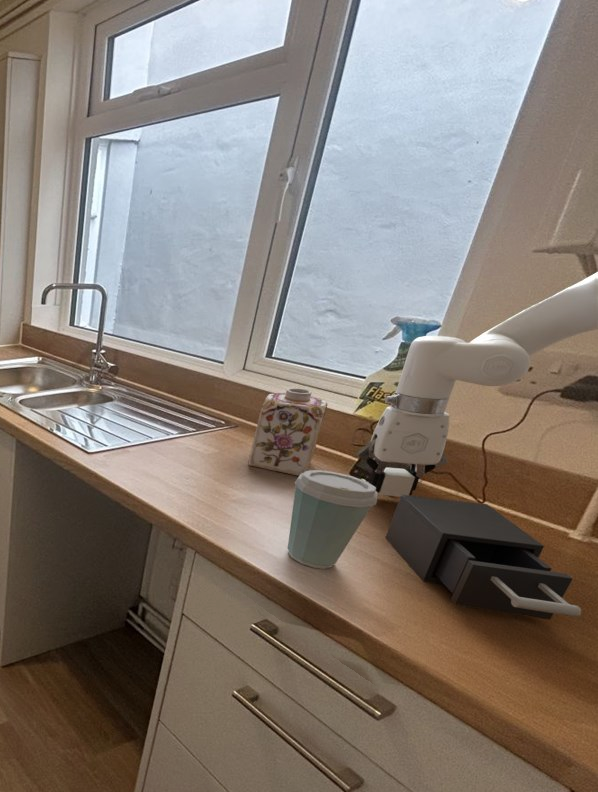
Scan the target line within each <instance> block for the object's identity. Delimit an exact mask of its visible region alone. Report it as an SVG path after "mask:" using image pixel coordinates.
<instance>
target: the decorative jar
mask: <svg viewBox="0 0 598 792" xmlns="http://www.w3.org/2000/svg"><path fill="white" fill-rule="evenodd" d="M328 405H329V404H328V402H327V401H325V400H323V399H321V398H318V397H315V396H312V391H311V390H309V389H306V388H300V387H290V388H287V389H286V391H285V392H276V393H269V394H268V395H267V396H266V397H265V398H264V401H263V404H262V405H261V408H260V411H259V416H258V420H257V424H256V427H255V433H254V436H253V441H252V445H251V449H250V454H249V459H248V462H247V465H248V466H250V467H256V468H260V469H264V470H270V471H274V472H279V473H284V474H287V475H288V474H289V475H294V476H298V477H299V475H300V474H301V473H304V472H305V471H309V468H310V466H311V462H312V459H313V457H314V454H315V450H316V447H317V443H318V440H319V437H320V434H321V433H320V432H321V430H322V426H323V421H324V419H325V415H326V412H328V411H327V409H328Z"/></svg>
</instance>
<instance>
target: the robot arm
mask: <svg viewBox="0 0 598 792" xmlns="http://www.w3.org/2000/svg"><path fill="white" fill-rule="evenodd" d="M595 330H598V271H596V272H594V273H593V274H592V275H589V276H588V277H586V278H584V279H583V280H581V281H579V282H577V283H575V284H573V285H570V286H569V287H566V288H564V289H562V290H560V291H558V292H557V293H555V294H553V295H551V296H549V297H547V298H545V299H544V300H542V301H539V302H536V303H535V304H534V305H531V306H529V307H527V308H525V309H523V310H521V311H520V312H518V313H516V314H515V315H512V316H511V317H509V318H507V319H505V320H504V321H502V322H500V323H499V324H497V325H495V326H493V327H492V328H490V329H488V330H487V331H485V332H483V333H482V334H480V335H478V336H476V337H475V338H474V339H472V340H470V342H466V341H465V340H463V339H462V338H458V337H452V336H444V335H423V336H418V337H416V338H415V339H414V340H412V342H411V343H410V345H409V348H408V352H407V355H406V357H405V360H404V364H403V368H402V371H401V374H400V377H399V380H398V384H397V387H396V390H395V391H393V395H386V396H385V397H384V403H385V404H390V405H391V406H387V407H386V408H385V410H384V411H383V412H382V415H381V416H380V418H379V420H378V422H377V424H376V426H375V428H374V430H373V433H372V436H371V438H370V441H369V442H368V443H366V444H365V445H364V446H363V447H361V448H360V449H359V450H358V451H356V453H355V455H356V456H357V457H359V459H361V460H362V461H363V462H365V463H366V464H367V465H368V466H369V467H370V469H371V472H370V475H369V479H368V481H367V482H368V483H370V484H371V485H373V486H375V487H376V490H375V491H376V492H377V493H378V492H380V490H381V487H382V484H383V481H384V478H385V474H383V472H384V470H385V468H386V467H387V466H389V464H390V463H398V464H409V470H407V471H408V472H409V473H410V474H411V475H413V476H414V477H415V479H414V482H413V485H412V488H411V490H410V493H409V496H413V492H414V491H416V489H417V486H418V483H419V480H420V478H423V477H424V476H425V474H427V473H429V472H431V471H433V470H434V469H436V468H440V467H442V466H444V465H447V464H449V460H448V458H447V456H446V455H445V453H444V451H445V449H446V448H445V447H446V443H447V440H448V435H449V427H450V414H449V413H448V412H446V409H447V406H448V404H449V401H450V398H451V395H452V391H453V389H454V387H455V383H456V381H460V382H463V383H469V384H474V385H479V386H486V387H502V386H506V385H510V384H513V383H515V382H516V381H519V380H521V379H522V378H523V377H524V376H525V375H526V374H527V372H529V369H530V366H531V358H530V357H532V356H534V355H535V354H538V353H539V352H541V351H543V350H545V349H547V348H549V347H551V346H553V345H555V344H557V343H559V342H562V341H564V340H566V339H569V338H571V337H574V336H577V335H580V334H583V333H584V334H585V333H587V332H591V331H595ZM370 454H373V455H374V458H373V457H372V456H370ZM387 468H388V467H387Z"/></svg>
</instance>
